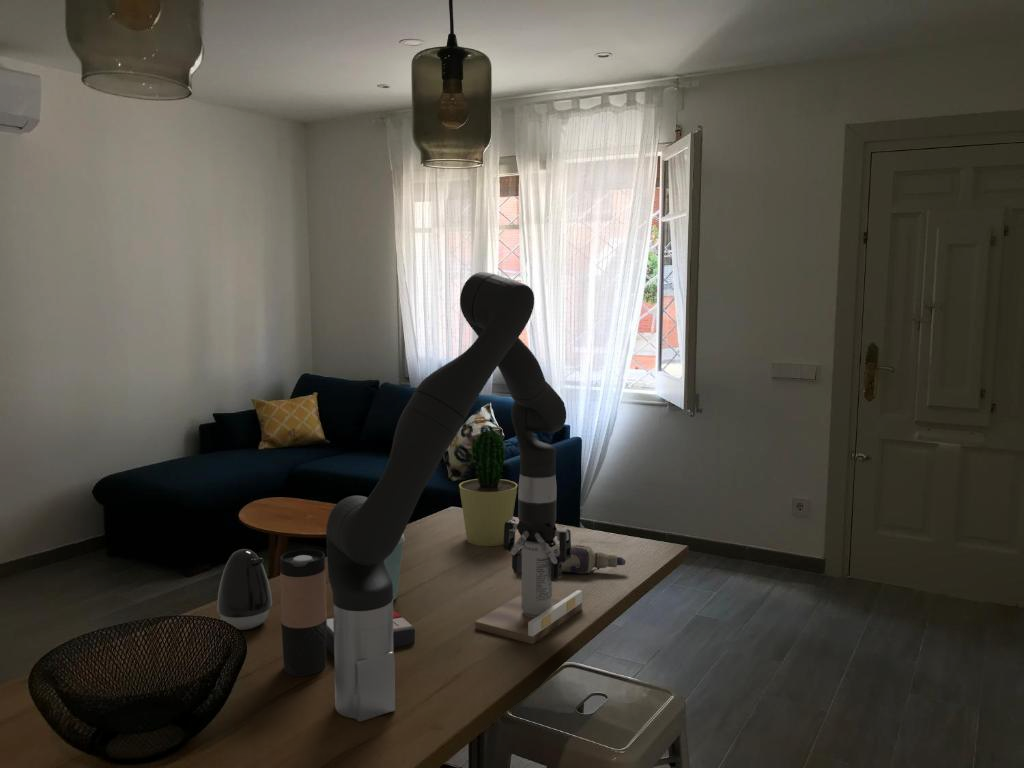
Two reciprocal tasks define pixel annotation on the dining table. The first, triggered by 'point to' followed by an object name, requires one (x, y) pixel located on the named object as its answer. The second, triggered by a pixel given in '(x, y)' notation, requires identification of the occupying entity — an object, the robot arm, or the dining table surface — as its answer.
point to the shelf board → (518, 621)
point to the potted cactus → (487, 493)
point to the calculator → (401, 632)
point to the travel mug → (303, 611)
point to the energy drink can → (535, 580)
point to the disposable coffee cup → (395, 565)
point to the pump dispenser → (244, 591)
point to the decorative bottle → (588, 560)
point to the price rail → (554, 613)
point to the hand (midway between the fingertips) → (536, 576)
